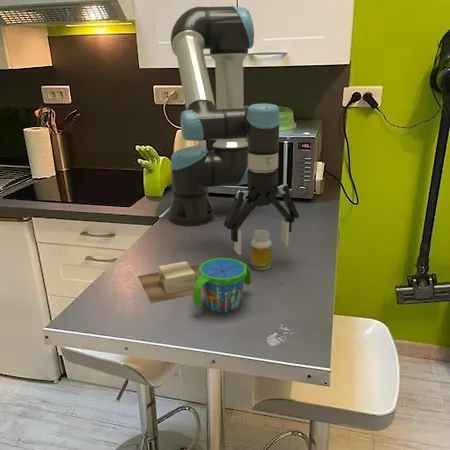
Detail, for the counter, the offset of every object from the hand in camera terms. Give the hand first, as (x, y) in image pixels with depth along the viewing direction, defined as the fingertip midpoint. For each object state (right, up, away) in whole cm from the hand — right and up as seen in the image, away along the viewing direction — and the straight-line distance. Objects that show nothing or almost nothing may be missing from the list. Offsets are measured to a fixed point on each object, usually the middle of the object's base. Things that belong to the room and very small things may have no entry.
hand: (261, 248), depth 127 cm
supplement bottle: (0, -5, +3) cm, 6 cm away
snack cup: (-10, -13, -16) cm, 23 cm away
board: (-22, -9, -7) cm, 25 cm away
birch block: (-21, -8, -9) cm, 24 cm away
